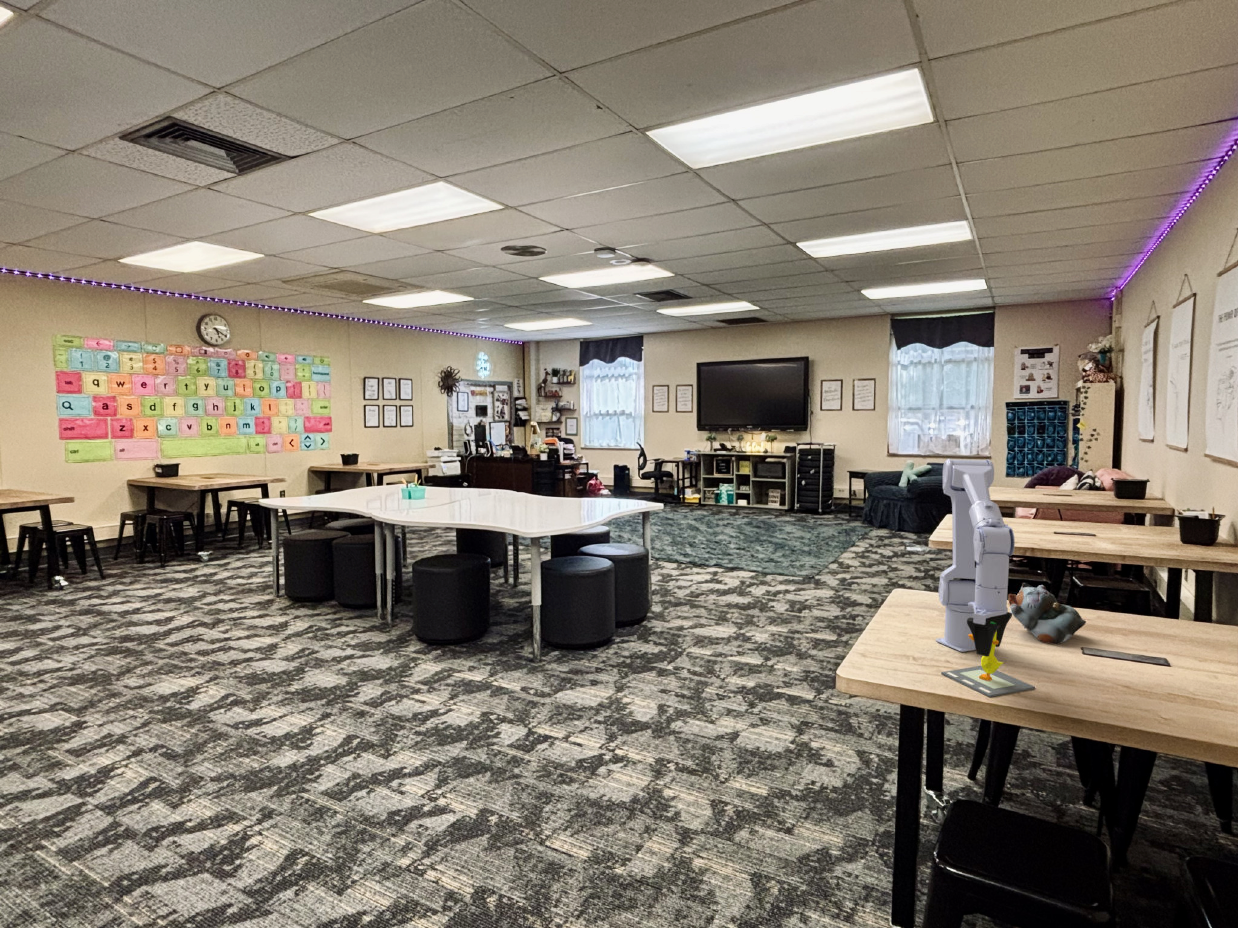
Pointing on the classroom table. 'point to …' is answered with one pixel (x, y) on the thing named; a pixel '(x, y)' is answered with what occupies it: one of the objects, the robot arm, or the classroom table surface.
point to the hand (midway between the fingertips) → (988, 650)
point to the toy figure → (989, 660)
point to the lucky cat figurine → (1044, 614)
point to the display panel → (989, 688)
